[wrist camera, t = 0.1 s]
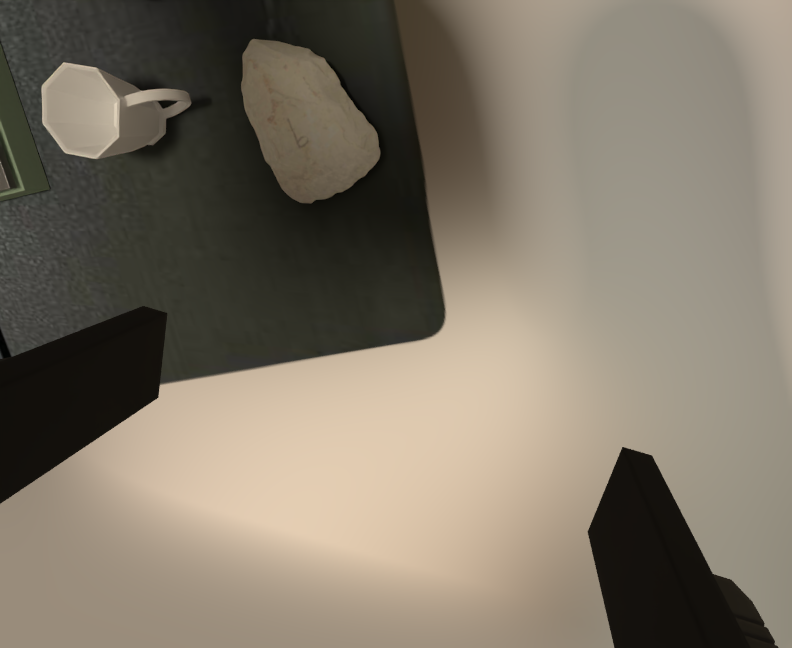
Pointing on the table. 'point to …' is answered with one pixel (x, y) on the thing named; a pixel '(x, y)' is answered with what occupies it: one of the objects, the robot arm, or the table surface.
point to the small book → (16, 144)
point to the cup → (104, 112)
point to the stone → (305, 121)
